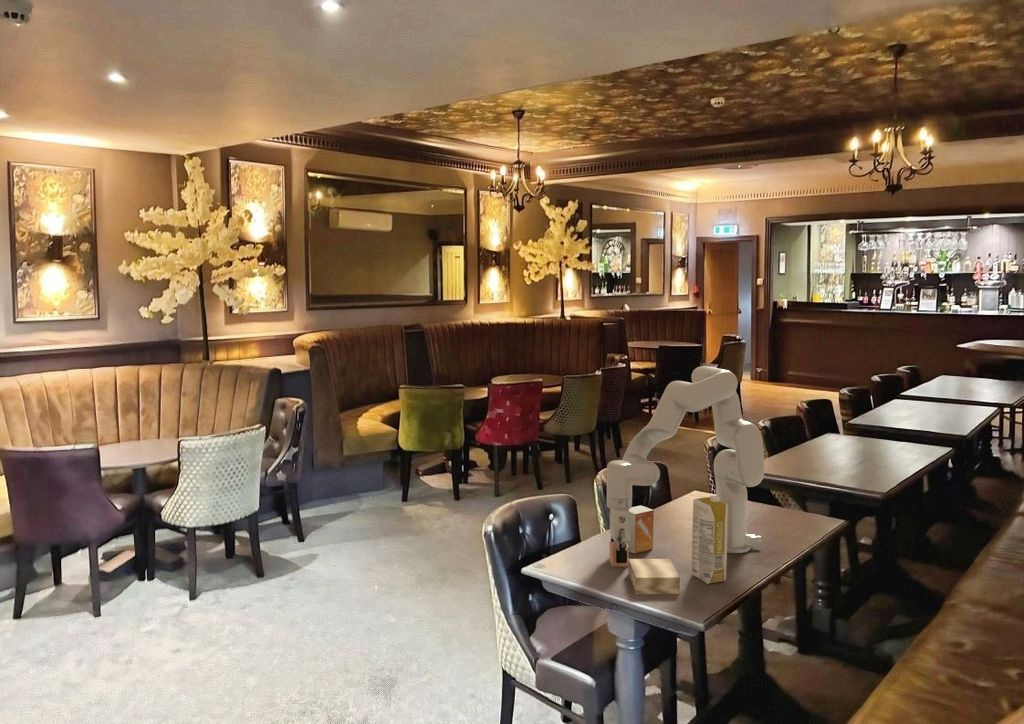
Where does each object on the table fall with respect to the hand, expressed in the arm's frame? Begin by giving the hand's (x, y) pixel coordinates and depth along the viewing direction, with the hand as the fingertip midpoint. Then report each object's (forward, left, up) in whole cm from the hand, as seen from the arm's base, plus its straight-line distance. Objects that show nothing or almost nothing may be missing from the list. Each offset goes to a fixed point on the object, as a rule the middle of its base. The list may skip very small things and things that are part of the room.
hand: (618, 556), depth 230 cm
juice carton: (-24, +13, -2) cm, 27 cm away
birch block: (-7, +16, -2) cm, 18 cm away
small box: (-8, -12, -2) cm, 15 cm away
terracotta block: (0, 0, -2) cm, 2 cm away
